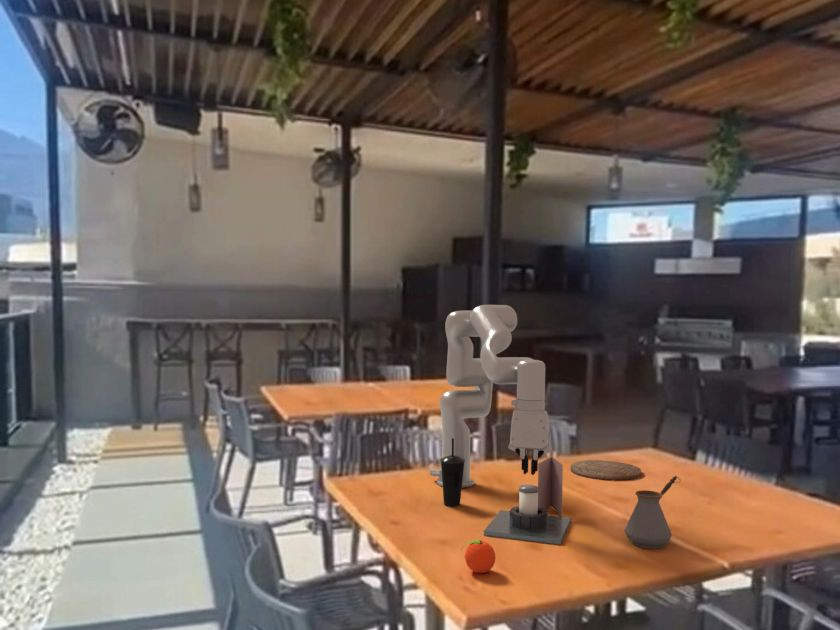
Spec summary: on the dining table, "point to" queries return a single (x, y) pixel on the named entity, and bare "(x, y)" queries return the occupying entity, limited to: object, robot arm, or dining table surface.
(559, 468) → the greeting card
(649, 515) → the coffee pot
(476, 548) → the clementine
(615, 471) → the trivet
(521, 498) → the round-ended cylinder
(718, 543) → the dining table surface
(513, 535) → the square plate with ring
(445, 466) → the drinking cup
